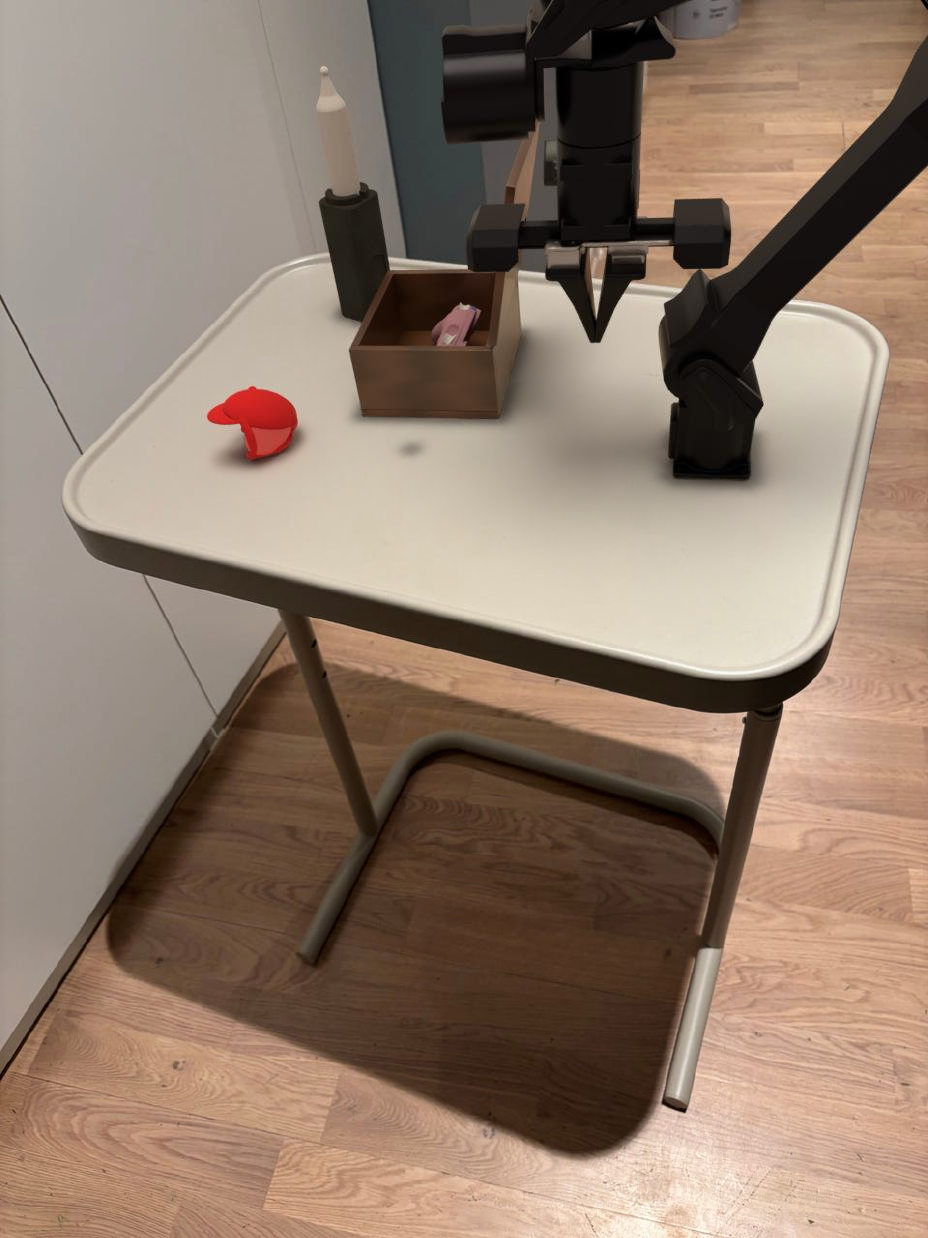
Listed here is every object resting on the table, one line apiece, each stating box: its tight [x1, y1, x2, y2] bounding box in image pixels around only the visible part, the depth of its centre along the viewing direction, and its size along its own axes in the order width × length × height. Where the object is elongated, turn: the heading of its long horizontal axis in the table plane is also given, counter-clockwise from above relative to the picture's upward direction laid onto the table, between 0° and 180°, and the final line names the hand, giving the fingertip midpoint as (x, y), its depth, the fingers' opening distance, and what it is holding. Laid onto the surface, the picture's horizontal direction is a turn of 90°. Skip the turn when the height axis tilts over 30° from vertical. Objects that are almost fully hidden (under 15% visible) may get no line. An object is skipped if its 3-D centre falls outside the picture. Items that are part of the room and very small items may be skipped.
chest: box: [348, 268, 523, 420], centre depth 93 cm, size 14×16×7 cm
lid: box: [488, 120, 541, 346], centre depth 84 cm, size 14×16×1 cm
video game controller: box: [431, 302, 481, 346], centre depth 93 cm, size 10×5×7 cm, turn 167°
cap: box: [206, 385, 299, 460], centre depth 88 cm, size 8×6×6 cm
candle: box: [315, 65, 391, 323], centre depth 98 cm, size 5×5×25 cm
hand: (595, 340), depth 75 cm, fingers closed
